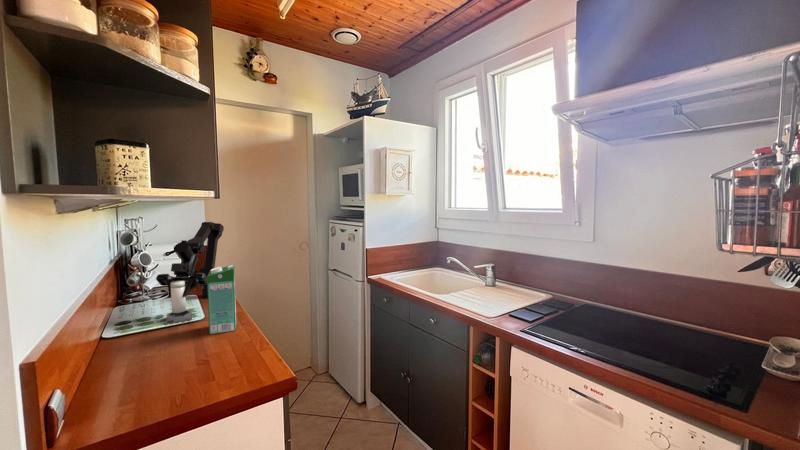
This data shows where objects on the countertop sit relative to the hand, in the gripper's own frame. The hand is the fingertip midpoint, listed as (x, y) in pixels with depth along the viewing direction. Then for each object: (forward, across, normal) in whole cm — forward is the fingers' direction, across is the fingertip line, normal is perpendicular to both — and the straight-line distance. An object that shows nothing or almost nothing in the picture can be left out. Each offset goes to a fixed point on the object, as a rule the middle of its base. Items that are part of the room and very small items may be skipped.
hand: (176, 296), depth 137 cm
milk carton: (+15, +22, -1) cm, 26 cm away
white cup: (+4, 0, +6) cm, 7 cm away
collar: (+6, 0, +8) cm, 10 cm away
